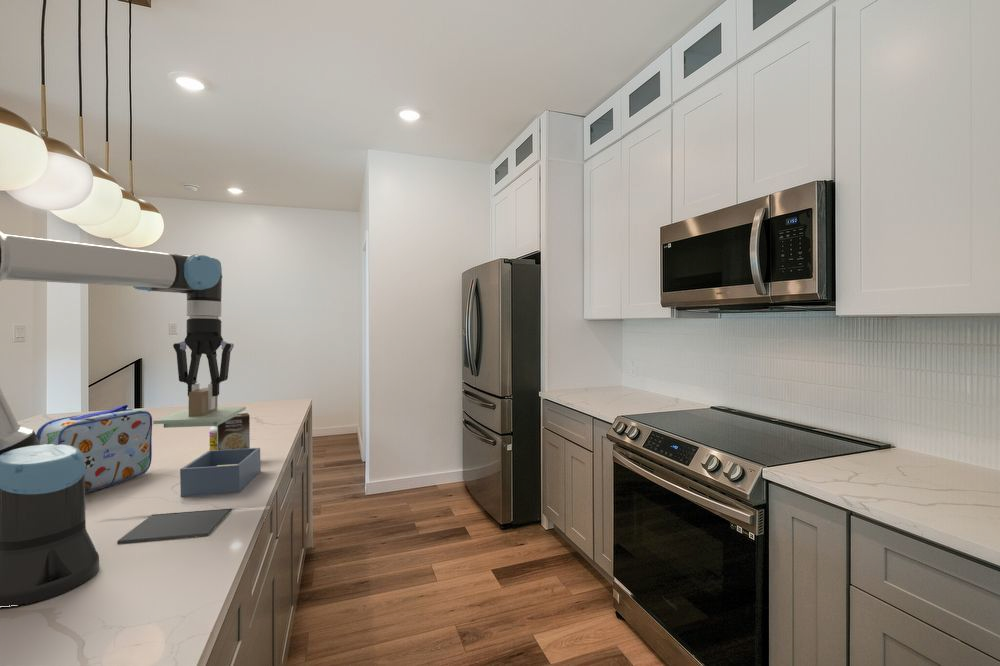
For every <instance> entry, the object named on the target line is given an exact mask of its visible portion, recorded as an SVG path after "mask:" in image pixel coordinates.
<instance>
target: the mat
mask: <svg viewBox="0 0 1000 666" xmlns="http://www.w3.org/2000/svg"><path fill="white" fill-rule="evenodd" d="M233 509H234V508H232V507H231V508H222V509H219V508H218V509H208V510H207V509H206V510H196V511H182V512H170V513H158V514H155V513H154V514H151V515H150V516H148V517H147V518H146V519H145V520H143V521H142V522H141V523H139V524H137V525H136V526H135V527H134V528H132V529H131V530H129V532H127V533H126V534H124V535H123V536H122V537H120V538H119V539H118V540H117V541H116V542H117V544H118V545H119V544H129V543H141V542H153V541H163V540H175V539H176V540H177V539H185V537H188V538H196V537H195V536H200V537H207V536H209V535H210V534H211V533H212V532H213V531H214V530H215V529H216V528H217V527H218V525H220V523H222V521H223V520H224V519H225V518H226V517H227V516H228V515H229V514H230V513H229V512H231V511H233ZM228 513H229V514H228ZM227 514H228V515H227ZM226 515H227V516H226ZM225 516H226V517H225ZM223 518H224V519H223ZM215 527H216V528H215ZM214 528H215V529H214Z"/></svg>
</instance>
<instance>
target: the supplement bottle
mask: <svg viewBox="0 0 1000 666" xmlns="http://www.w3.org/2000/svg"><path fill="white" fill-rule="evenodd" d="M208 433H209V450H217V426H210V428H209V432H208Z"/></svg>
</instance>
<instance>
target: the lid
mask: <svg viewBox="0 0 1000 666" xmlns="http://www.w3.org/2000/svg"><path fill="white" fill-rule="evenodd" d="M218 396H219V395H218ZM218 396H215V408H214V409H212V410H208V387H202V388H199V390H195V391H192V392H189V397H188V407H187V408H184V409H181V410H179V411H176V412H174V413H171V414H168V415H166V416H165V415H164V416H163V417H160V418H156V419H154V420H152V425H158V424H159V425H163V428H165V429H166V428H196V427H197V428H199V427H213V426H218V425H220V424H221V423H223V422H225V421H227V420H229V419H231V418H233V417H235V416H237V415H238V414H241V413H242V412H243V411H246V408H247V407H246V406H224V407H223V406H222V407H221V406H220V407H218Z"/></svg>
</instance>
